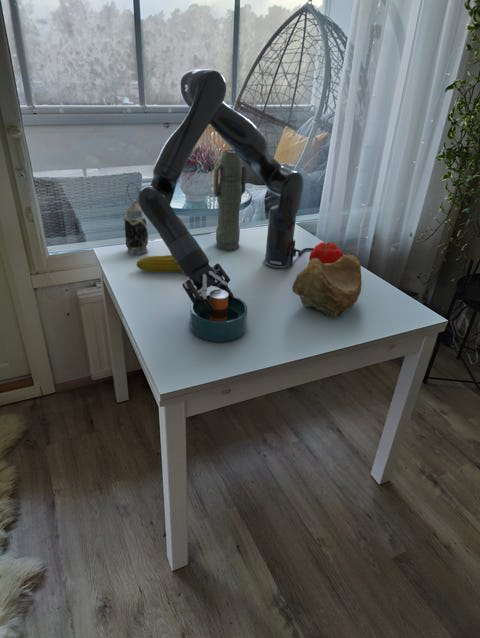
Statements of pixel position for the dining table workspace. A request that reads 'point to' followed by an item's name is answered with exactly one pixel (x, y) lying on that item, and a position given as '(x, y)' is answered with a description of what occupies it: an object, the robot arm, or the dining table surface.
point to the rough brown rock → (330, 285)
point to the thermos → (229, 199)
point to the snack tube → (219, 305)
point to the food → (159, 264)
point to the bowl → (216, 328)
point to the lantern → (135, 229)
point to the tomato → (326, 253)
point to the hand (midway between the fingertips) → (222, 305)
